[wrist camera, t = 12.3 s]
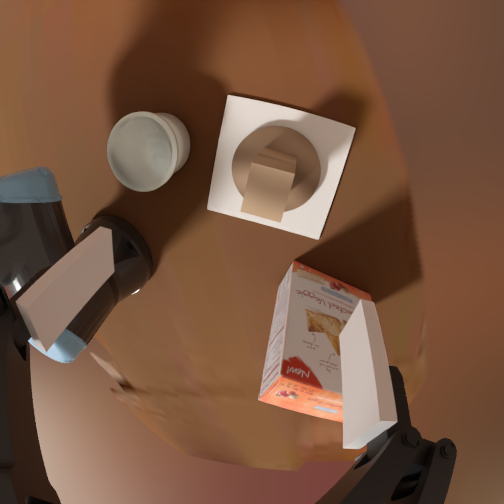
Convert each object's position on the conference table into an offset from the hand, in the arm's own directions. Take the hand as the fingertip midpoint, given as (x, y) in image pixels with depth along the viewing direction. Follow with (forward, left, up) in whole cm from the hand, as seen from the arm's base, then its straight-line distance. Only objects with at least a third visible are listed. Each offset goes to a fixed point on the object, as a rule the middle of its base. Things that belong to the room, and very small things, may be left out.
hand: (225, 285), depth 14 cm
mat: (0, 0, -25) cm, 25 cm away
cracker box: (-16, -12, -25) cm, 32 cm away
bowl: (0, +16, -25) cm, 29 cm away
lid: (0, 0, -24) cm, 24 cm away
